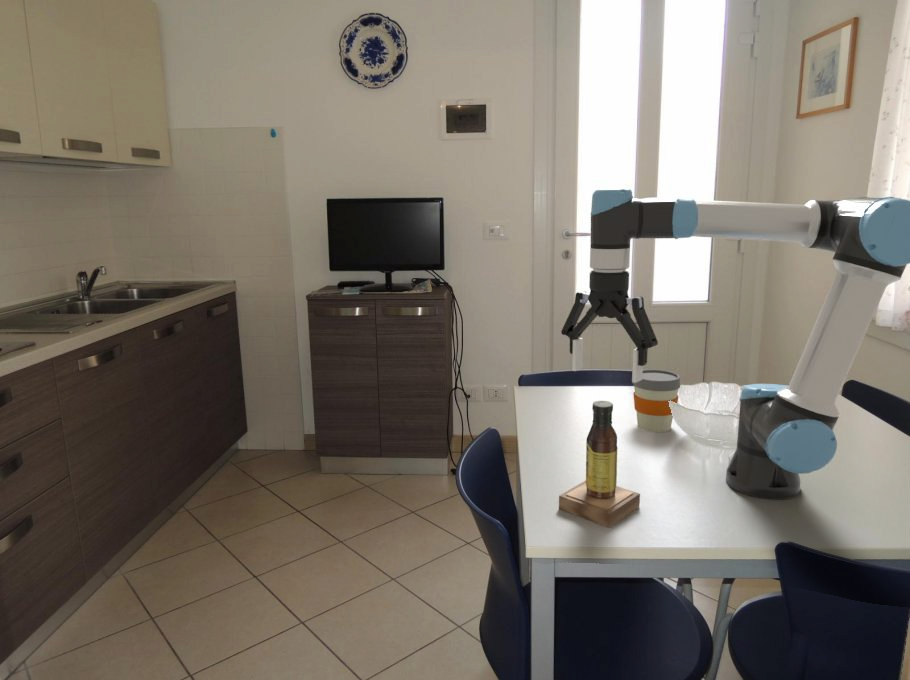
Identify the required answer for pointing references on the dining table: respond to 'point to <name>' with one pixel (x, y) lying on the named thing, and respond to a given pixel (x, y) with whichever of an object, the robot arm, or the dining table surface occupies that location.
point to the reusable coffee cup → (655, 399)
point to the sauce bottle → (601, 452)
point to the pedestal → (599, 504)
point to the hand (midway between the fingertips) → (606, 375)
